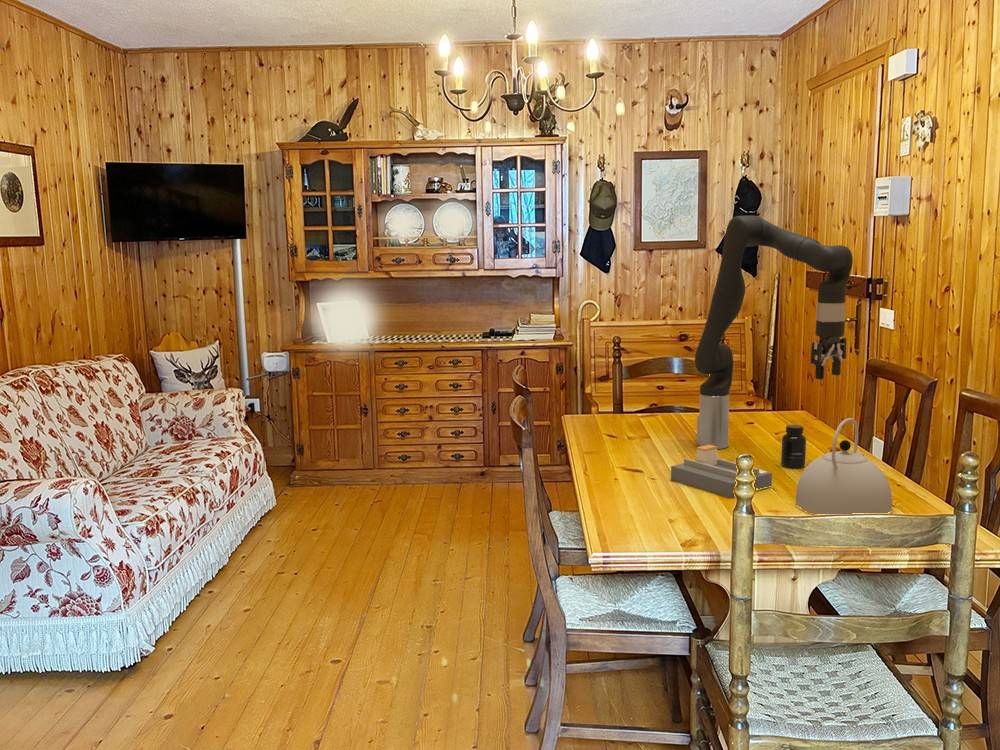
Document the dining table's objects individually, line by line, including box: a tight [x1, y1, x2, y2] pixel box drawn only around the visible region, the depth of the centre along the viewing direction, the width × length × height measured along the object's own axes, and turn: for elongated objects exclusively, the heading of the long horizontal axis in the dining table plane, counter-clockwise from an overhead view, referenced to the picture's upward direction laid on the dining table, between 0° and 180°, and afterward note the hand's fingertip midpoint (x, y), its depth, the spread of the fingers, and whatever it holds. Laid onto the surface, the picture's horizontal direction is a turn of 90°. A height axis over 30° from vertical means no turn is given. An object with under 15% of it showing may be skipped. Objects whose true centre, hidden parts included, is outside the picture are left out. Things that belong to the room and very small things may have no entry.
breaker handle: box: [696, 445, 718, 465], centre depth 243 cm, size 3×5×5 cm, turn 124°
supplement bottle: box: [780, 424, 807, 469], centre depth 254 cm, size 7×7×12 cm
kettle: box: [795, 417, 893, 516], centre depth 217 cm, size 25×23×22 cm
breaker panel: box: [670, 457, 773, 499], centre depth 239 cm, size 22×16×6 cm
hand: (827, 377), depth 240 cm, fingers open, 8 cm apart
